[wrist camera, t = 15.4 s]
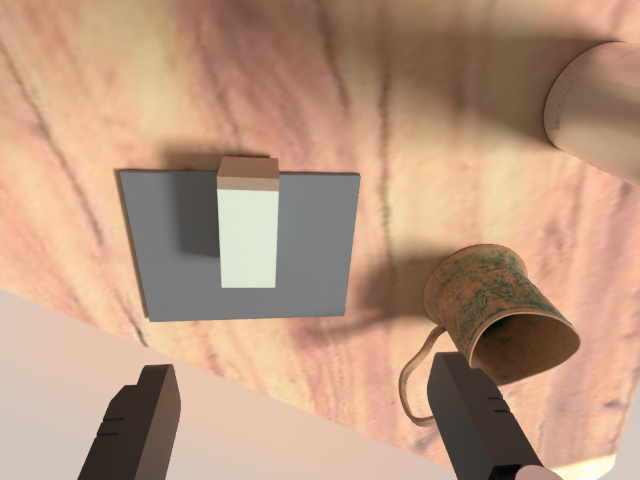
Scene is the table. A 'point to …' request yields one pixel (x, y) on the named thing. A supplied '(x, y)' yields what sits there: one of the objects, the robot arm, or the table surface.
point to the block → (248, 221)
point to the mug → (492, 319)
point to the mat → (204, 246)
